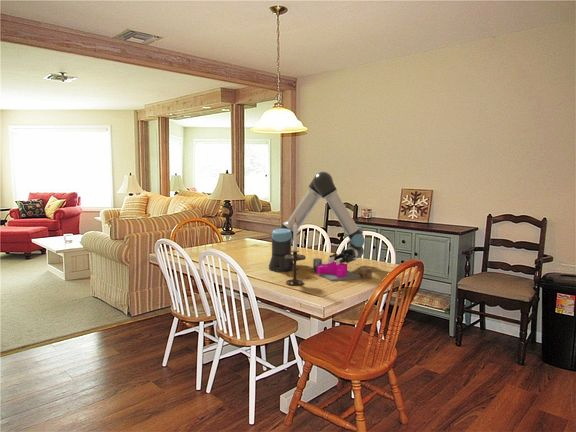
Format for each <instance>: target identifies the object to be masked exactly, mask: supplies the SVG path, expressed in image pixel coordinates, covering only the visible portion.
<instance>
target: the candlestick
mask: <svg viewBox="0 0 576 432" xmlns="http://www.w3.org/2000/svg"><path fill="white" fill-rule="evenodd" d="M294 219H295V225H294V235H293V242H292V244H293V246H292V247H293V249H292V250H291V254H289V255H285V259H287V260H292V261H293V263H294V268H293V269H292V270H291V271H293V273H292V275H293V277H292V279H288V280H286V281H285V284H286V285H288V286H293V287H299V286H302V285H304V281H303V279H302V280H301V279H298V278H297V275H298V273H297V271H298V268H297V262H298V261H304V260H306V255H304V254H298V253H299V250H298V235H297V225H296V218H294Z"/></svg>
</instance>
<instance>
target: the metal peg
mask: <svg viewBox="0 0 576 432" xmlns="http://www.w3.org/2000/svg"><path fill="white" fill-rule="evenodd" d="M312 261H313V262H312V264H313V265H312V266H313V267H312V268H313V269H312V271H313V272H315V273H317V267H318V266H321V265H322V262H323V258H319V257H318V258H313V260H312Z"/></svg>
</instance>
